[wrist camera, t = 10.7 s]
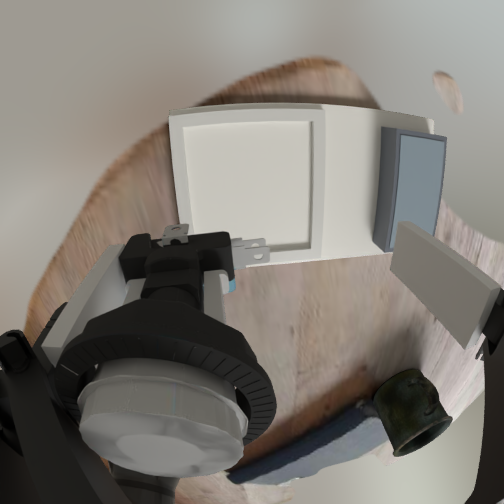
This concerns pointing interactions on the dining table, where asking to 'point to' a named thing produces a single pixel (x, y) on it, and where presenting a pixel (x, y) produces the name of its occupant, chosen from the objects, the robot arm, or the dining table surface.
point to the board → (283, 175)
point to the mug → (410, 411)
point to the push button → (170, 361)
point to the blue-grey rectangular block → (408, 183)
